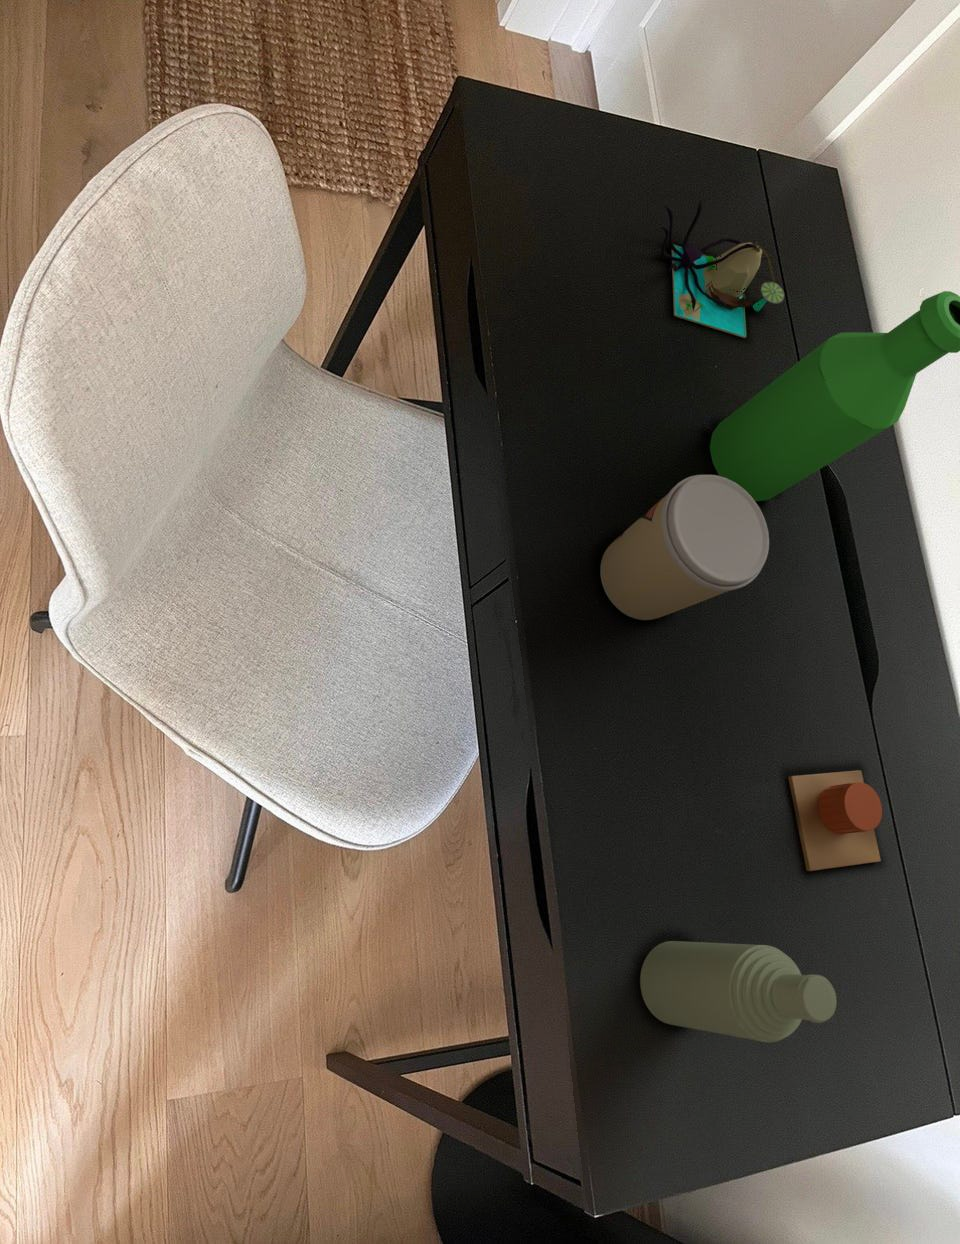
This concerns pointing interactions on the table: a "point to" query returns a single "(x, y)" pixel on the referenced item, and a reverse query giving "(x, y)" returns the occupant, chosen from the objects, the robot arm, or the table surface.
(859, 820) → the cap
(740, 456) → the bottle
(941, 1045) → the table surface
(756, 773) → the table surface
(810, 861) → the coaster
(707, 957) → the sauce bottle
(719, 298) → the diorama
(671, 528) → the coffee cup
